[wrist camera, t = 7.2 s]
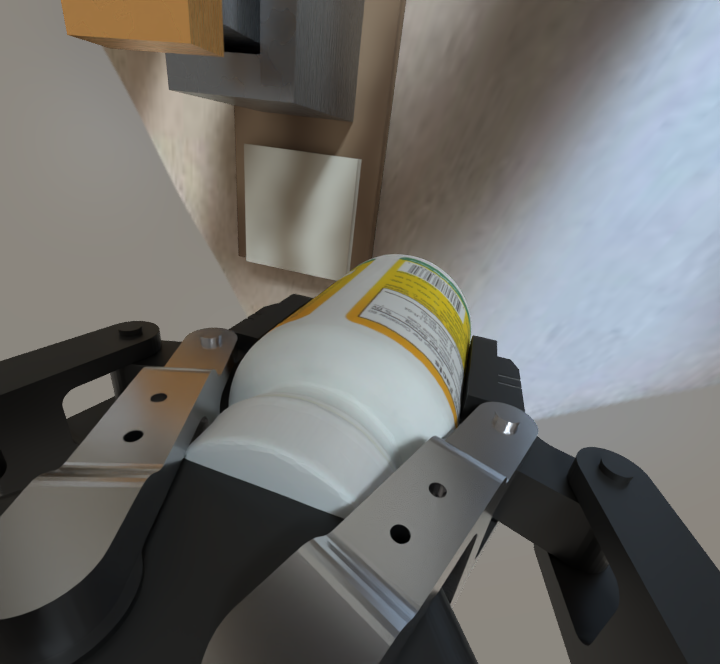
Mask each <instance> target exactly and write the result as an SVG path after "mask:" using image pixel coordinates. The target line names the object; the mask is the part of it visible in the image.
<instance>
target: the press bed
mask: <svg viewBox="0 0 720 664" xmlns="http://www.w3.org/2000/svg"><path fill="white" fill-rule="evenodd" d="M405 4H406V0H365V3H364V14H363V24H362V35H361V45H360V56H359V66H358V77H357V87H356V98H355V109H354V119H353V122H347V121H339V120H330V119H321V118H312V117H304V116H295V115H286V114H277V113H269V112H260V111H256V110H252V109H248V108H244V107H239V106H235V105H234V113H235V147H236V181H237V214H238V248H239V256H242V257H246V261H248V262H253V263H257V264H262V265H267V266H271V267H276V268H280V269H285V270H289V271H294V272H299V273H303V274H308V275H312V276H317V277H322V278H326V279H331V280H335V281H338V280H339V279H340V278H342V277H343V276H344V275H346V274H347V273H348V272H350V271H351V270H352V269H354V268H355V267H357V266H358V265H360V264H361V263H363V262H365V261H367V260H369V259H372V252H373V245H374V237H375V230H376V222H377V215H378V207H379V200H380V192H381V185H382V177H383V170H384V162H385V155H386V147H387V140H388V132H389V125H390V117H391V109H392V102H393V94H394V87H395V79H396V72H397V64H398V57H399V49H400V42H401V34H402V27H403V19H404V12H405Z"/></svg>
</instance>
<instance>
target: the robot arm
mask: <svg viewBox="0 0 720 664" xmlns="http://www.w3.org/2000/svg"><path fill="white" fill-rule="evenodd" d="M312 299H314V298H310V297H306V296H301V295H297V294H292V295H291V296H289V297H288V298H286V299H285V300H283V301H282V302H280V303H279V304H273V305H270V306H266V307H263V308H262V309H260V310H259V311H257V312H255V314H252V315H251V316H249V317H248V319H244V320H243V321H242V322H240V323H238V324H237V325H235V326H233V327H232V328H231V329H229V330H227V329H223V328H206V329H200V330H197V331H194V332H192V333H190V334H189V335H187V336H186V337H185V339H184V340H183V342H176V341H163V340H161V338H160V331H159V327H158V326H157V325H156V324H154V323H151V322H145V321H131V322H124V323H119V324H116V325H112V326H109V327H106V328H103V329H100V330H97V331H94V332H90V333H87V334H84V335H81V336H78V337H75V338H72V339H68V340H65V341H62V342H59V343H56V344H53V345H50V346H47V347H44V348H40V349H37V350H34V351H31V352H28V353H25V354H21V355H18V356H15V357H12V358H9V359H6V360H3V361H0V664H478V662H477V660H476V658H475V656H474V654H473V652H472V650H471V648H470V646H469V643H468V641H467V639H466V637H465V635H464V633H463V631H462V629H461V627H460V624H459V622H458V620H457V618H456V616H455V614H454V612H453V610H452V609H453V606H454V605H455V603H456V601H457V599H458V597H459V595H460V593H461V591H462V589H463V587H464V585H465V583H466V581H467V579H468V577H469V575H470V573H471V571H472V569H473V568H474V566H475V564H476V563H477V561H478V559H479V557H480V556H481V554H482V552H483V550H484V548H485V547H486V545H487V543H488V542H489V540H490V538H491V536H492V535H493V533H494V531H495V530H496V528H497V526H498V524H499V523H500V522H501V523H502V524H504V525H506V526H507V527H509V528H510V529H512V530H513V531H515V532H517V533H518V534H520V535H521V536H523V537H525V538H526V539H528V540H529V541H531V542H532V543H534V550H535V554H536V557H537V560H538V563H539V566H540V569H541V572H542V575H543V578H544V582H545V585H546V588H547V591H548V594H549V597H550V600H551V603H552V606H553V609H554V612H555V616H556V619H557V622H558V625H559V628H560V631H561V634H562V637H563V640H564V644H565V647H566V650H567V653H568V656H569V659H570V662H571V664H720V571H719V570H718V568H717V567H716V566H715V564H714V563H713V562H712V560H711V559H710V558H709V556H708V555H707V554H706V552H705V551H704V550H703V548H702V547H701V546H700V544H699V543H698V542H697V540H696V539H695V538H694V536H693V535H692V534H691V532H690V531H689V530H688V528H687V527H686V526H685V524H684V523H683V522H682V520H681V519H680V518H679V516H678V515H677V514H676V512H675V511H674V510H673V509H672V507H671V506H670V504H669V503H668V502H667V501H666V499H665V498H664V496H663V495H662V494H661V492H660V491H659V490H658V489H657V487H656V486H655V485H654V483H653V482H652V480H651V479H650V478H649V477H648V475H647V474H646V473H645V472H644V471H643V470H642V469H641V468H639V467H638V466H637V465H635V464H634V463H633V462H631V461H630V460H628V459H627V458H625V457H623V456H621V455H619V454H617V453H614V452H612V451H609V450H606V449H602V448H596V447H587V448H583V449H581V450H580V451H579V452H578V453H577V455H576V458H574V457H572V456H570V455H568V454H566V453H564V452H562V451H560V450H558V449H556V448H554V447H552V446H550V445H549V444H547V443H545V442H544V441H543V440H541V439H540V438H539V437H538V436H537V434H538V427H537V425H536V423H535V422H534V420H533V419H532V418H531V417H530V416H529V415H527V414H526V413H525V409H524V402H523V395H522V389H521V381H520V374H519V369H518V368H517V367H516V365H515V364H514V363H513V362H512V361H511V360H510V359H506V358H502V357H497V341H496V340H491V339H487V338H483V337H478V336H474V335H473V336H472V339H471V343H470V346H469V351H468V359H467V367H466V376H465V384H464V391H463V398H462V406H461V414H460V422H459V426H458V427H457V428H456V430H455V431H454V432H453V433H452V434H451V435H450V436H449V437H448V438H447V439H446V440H443V439H442V438H440V437H438V436H433V437H431V438H430V439H429V440H428V441H427V442H426V443H425V444H424V445H422V446H421V447H420V448H419V449H418V450H417V451H416V452H415V453H414V454H413V455H412V456H411V457H410V458H409V459H408V460H407V461H406V462H405V463H403V464H402V465H401V466H400V467H399V468H398V469H397V470H396V471H395V472H394V473H393V474H392V475H391V476H390V477H389V478H388V479H387V480H386V481H384V482H383V483H382V484H381V485H380V486H379V487H378V488H377V489H376V490H375V491H374V492H373V493H372V494H371V495H370V496H369V497H368V498H367V499H365V500H364V501H363V502H362V503H361V504H360V505H359V506H358V507H357V508H356V509H355V510H354V511H353V512H352V513H351V514H350V515H349V516H348V517H346V518H345V519H344V518H341V517H339V516H336V515H333V514H330V513H328V512H325V511H322V510H319V509H317V508H314V507H312V506H309V505H306V504H304V503H301V502H299V501H296V500H294V499H291V498H289V497H286V496H284V495H281V494H278V493H276V492H273V491H270V490H268V489H265V488H262V487H260V486H257V485H254V484H251V483H249V482H246V481H243V480H241V479H238V478H235V477H232V476H230V475H227V474H224V473H222V472H219V471H216V470H213V469H211V468H208V467H205V466H203V465H200V464H197V463H195V462H192V461H190V460H187V459H185V458H184V455H185V453H186V450H187V448H188V446H189V445H190V444H191V443H192V442H193V441H194V440H195V439H196V438H198V437H199V436H200V435H201V434H202V433H203V432H204V431H205V430H206V429H207V428H208V427H209V426H210V425H211V424H212V423H213V422H214V420H215V419H216V418H217V416H218V415H219V414H221V413H222V412H223V411H224V410H225V409H227V408H228V407H229V394H230V388H231V384H232V381H233V378H234V375H235V372H236V370H237V368H238V366H239V364H240V362H241V361H242V359H243V358H244V356H245V355H246V354H247V352H248V351H249V350H250V349H251V347H252V346H253V345H254V344H255V343H256V342H258V341H259V340H260V339H261V338H262V337H263V336H264V335H266V334H267V333H268V332H269V331H270V330H272V329H273V328H274V327H276V326H277V325H278V324H279V323H281V322H283V321H284V320H285V319H287V318H288V317H289V316H291V315H292V314H294V313H295V312H296V311H298V310H299V309H300V308H302V307H303V306H305V305H306V304H307V303H308V302H310V301H311V300H312ZM109 373H110V375H111V380H112V384H113V388H114V393H115V396H114V397H112V398H110V399H108V400H106V401H104V402H101V403H99V404H97V405H95V406H93V407H91V408H89V409H87V410H85V411H82V412H81V413H78V414H76V415H74V416H72V417H70V418H68V419H66V416H65V413H64V410H63V407H62V402H63V399H64V397H65V396H66V394H67V393H68V392H69V391H70V390H71V389H73V388H75V387H77V386H80V385H82V384H85V383H87V382H90V381H92V380H94V379H97V378H99V377H101V376H104V375H106V374H109Z"/></svg>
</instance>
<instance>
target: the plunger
mask: <svg viewBox="0 0 720 664" xmlns="http://www.w3.org/2000/svg"><path fill="white" fill-rule="evenodd" d="M61 3H62V8H63V14H64V19H65V25H66V30H67V35H70V36H73V37H76V38H79V39H82V40H86V41H89V42H92V43H95V44H99V45H102V46H105V47H108V48H113V49H126V50H138V51H151V52H164V53H176V54H189V55H202V56H214V57H224V43H225V44H227V45H229V46H231V47H233V48H236V49H238V50H240V51H242V52H244V53H246V54H259V55H260V0H61Z"/></svg>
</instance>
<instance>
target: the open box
mask: <svg viewBox="0 0 720 664" xmlns="http://www.w3.org/2000/svg"><path fill="white" fill-rule="evenodd" d="M364 3H365V0H260V55H259V54H246V53H244V52H242V51H240V50H238V49H236V48H233V47H231V46H229V45H227V44H225V43H224V57H214V56H202V55H189V54H176V53H166V64H167V74H168V85H169V90H172V91H176V92H180V93H185V94H189V95H193V96H197V97H202V98H206V99H210V100H214V101H218V102H223V103H227V104H231V105H235V106H239V107H244V108H248V109H252V110H256V111H260V112H269V113H277V114H286V115H295V116H304V117H312V118H321V119H330V120H339V121H347V122H353V119H354V109H355V98H356V87H357V77H358V66H359V56H360V45H361V35H362V24H363V14H364Z"/></svg>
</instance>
